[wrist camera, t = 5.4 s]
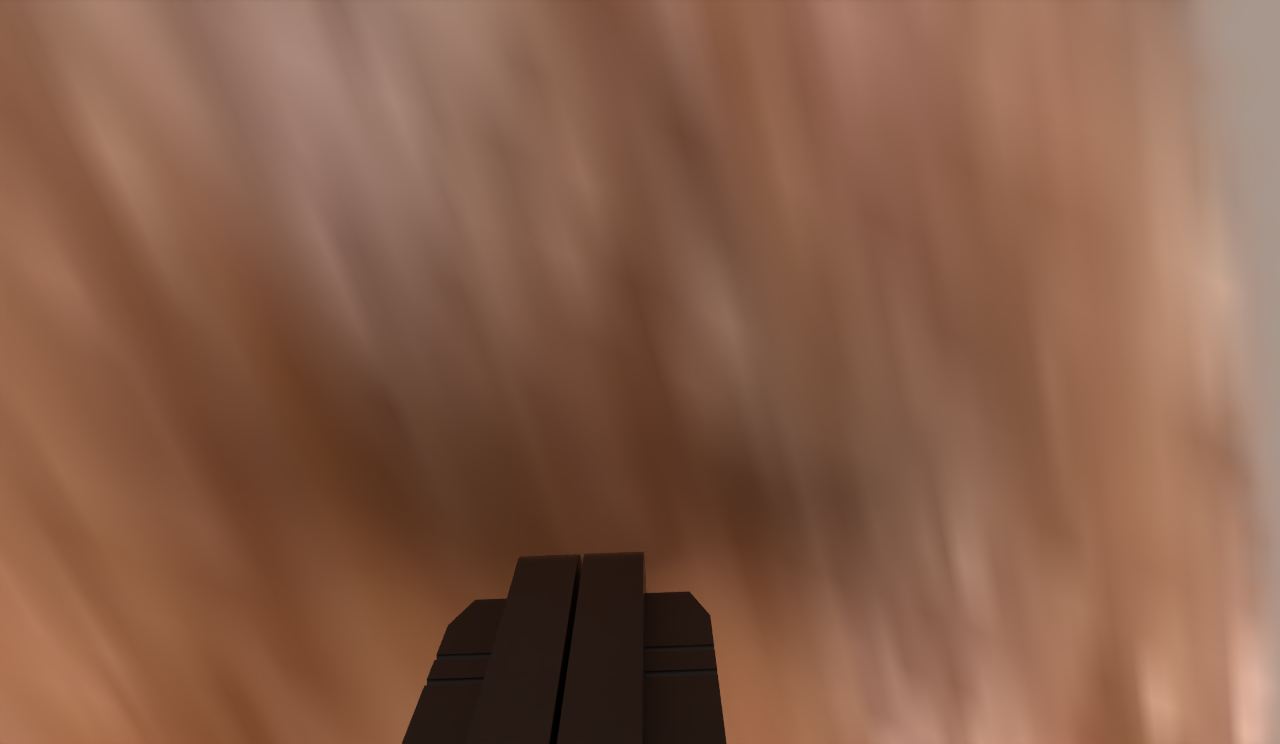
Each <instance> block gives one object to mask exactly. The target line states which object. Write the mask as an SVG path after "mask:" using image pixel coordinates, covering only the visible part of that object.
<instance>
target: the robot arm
mask: <svg viewBox="0 0 1280 744" xmlns="http://www.w3.org/2000/svg"><path fill="white" fill-rule="evenodd" d="M402 744H726V736H725V728H724V720H723V713H722V705H721V697H720V689H719V681H718V675H717V665H716V658H715V650H714V642H713V634H712V626H711V618H710V615H709V613H708V612H707V611H706V610H705V609H704V608H703V607H702V606H701V604H700V603H699V602H698V601H697V600H696V599H695V598H694V596H693V595H692V594H691V593H690V592H666V593H646V576H645V559H644V552H626V553H600V554H584V558H583V564H582V560H581V556H580V555H554V556H528V557H520V558H519V559H518V562H517V566H516V569H515V572H514V576H513V579H512V583H511V586H510V590H509V593H508V597H507V599H485V600H475V601H474V602H472V603H471V604H470V605H469V606H468V607H467V608H466V609H465V610H464V611H463V612H462V613H461V614H460V615H459V616H457V617H456V618H455V619H454V620H453V621H452V622H451V623H450V624H449V625H448V627H447V629H446V632H445V634H444V637H443V640H442V642H441V645H440V647H439V650H438V652H437V660H434V663H433V665H432V668H431V670H430V673H429V675H428V678H427V686H424V688H423V691H422V693H421V696H420V698H419V701H418V704H417V706H416V709H415V711H414V714H413V716H412V719H411V722H410V724H409V727H408V729H407V732H406V734H405V737H404V739H403V742H402Z"/></svg>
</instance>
